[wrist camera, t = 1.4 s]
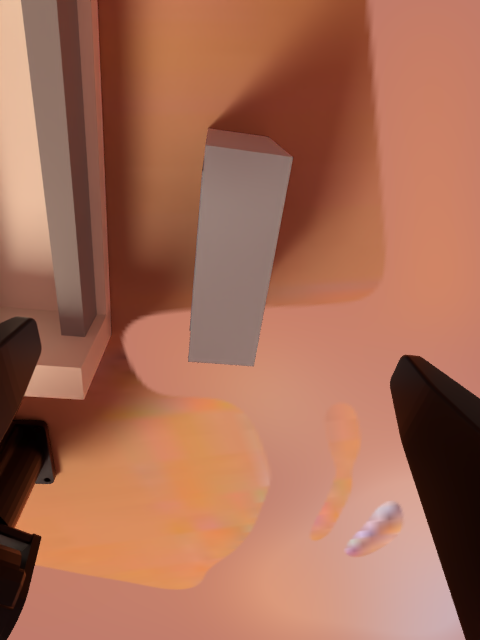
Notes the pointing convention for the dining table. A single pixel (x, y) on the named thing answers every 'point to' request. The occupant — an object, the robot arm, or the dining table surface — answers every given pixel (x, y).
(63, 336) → the track
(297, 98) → the dining table surface
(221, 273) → the grey rectangular block
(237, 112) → the dining table surface
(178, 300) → the dining table surface
